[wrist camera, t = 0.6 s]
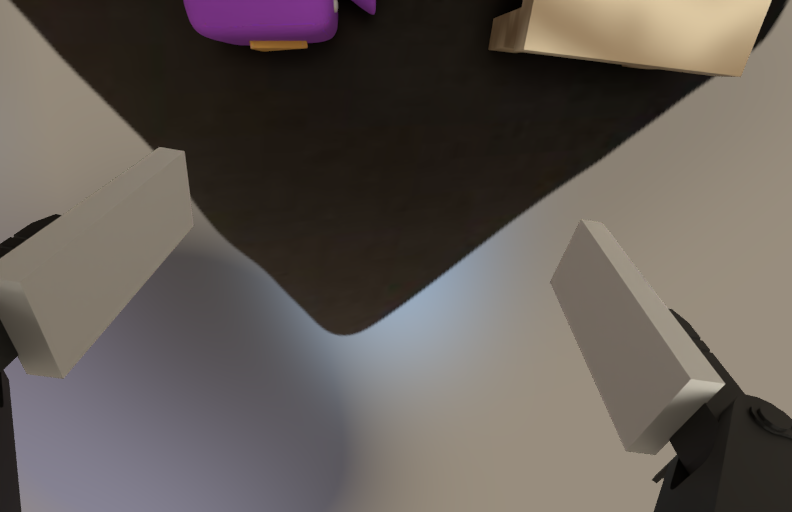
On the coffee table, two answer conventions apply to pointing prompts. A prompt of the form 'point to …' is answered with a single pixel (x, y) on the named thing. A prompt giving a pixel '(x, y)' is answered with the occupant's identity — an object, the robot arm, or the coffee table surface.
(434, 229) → the coffee table surface
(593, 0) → the low wooden platform
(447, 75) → the coffee table surface
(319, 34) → the toy camera
